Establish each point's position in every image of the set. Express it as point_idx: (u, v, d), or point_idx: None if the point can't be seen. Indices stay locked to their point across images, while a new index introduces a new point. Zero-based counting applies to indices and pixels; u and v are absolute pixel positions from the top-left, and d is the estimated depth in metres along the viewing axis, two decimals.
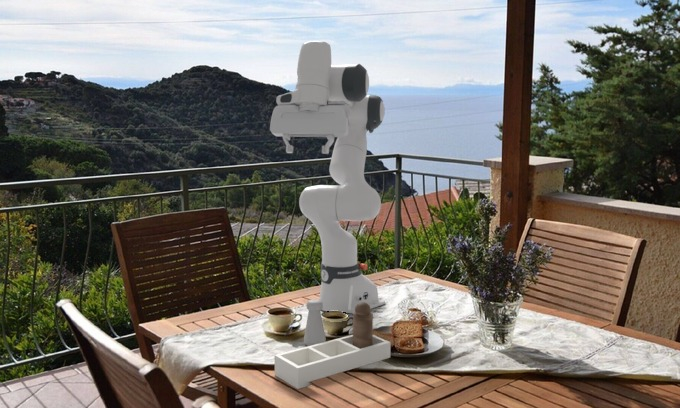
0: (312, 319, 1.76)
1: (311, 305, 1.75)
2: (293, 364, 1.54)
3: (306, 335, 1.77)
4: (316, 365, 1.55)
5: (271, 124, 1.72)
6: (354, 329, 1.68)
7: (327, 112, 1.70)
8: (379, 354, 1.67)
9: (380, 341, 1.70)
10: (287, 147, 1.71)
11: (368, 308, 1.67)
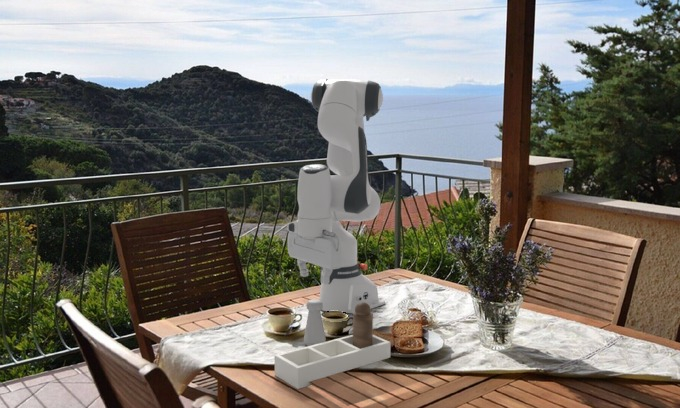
0: (312, 319, 1.76)
1: (311, 305, 1.75)
2: (293, 364, 1.54)
3: (306, 335, 1.77)
4: (316, 365, 1.55)
5: (288, 248, 1.81)
6: (354, 329, 1.68)
7: (319, 244, 1.69)
8: (379, 354, 1.67)
9: (380, 341, 1.70)
10: (300, 272, 1.79)
11: (368, 308, 1.67)
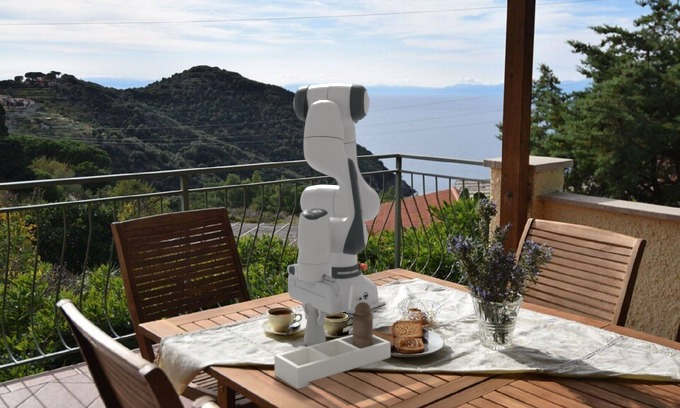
0: (312, 319, 1.76)
1: None
2: (293, 364, 1.54)
3: (306, 335, 1.77)
4: (316, 365, 1.55)
5: (288, 290, 1.83)
6: (354, 329, 1.68)
7: (319, 289, 1.71)
8: (379, 354, 1.67)
9: (380, 341, 1.70)
10: (305, 315, 1.79)
11: (368, 308, 1.67)
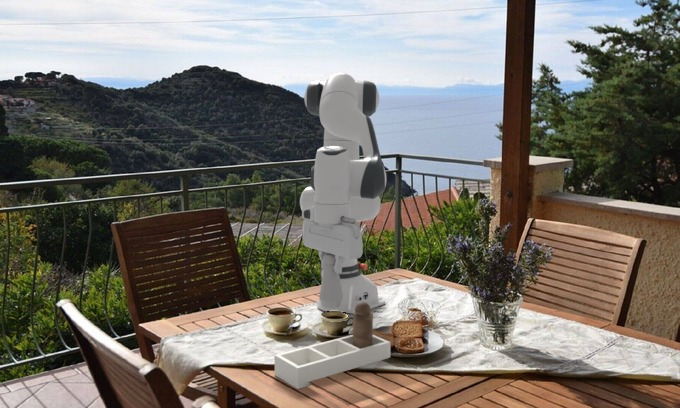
0: (328, 274, 1.61)
1: (328, 258, 1.60)
2: (293, 364, 1.54)
3: (322, 291, 1.61)
4: (316, 365, 1.55)
5: None
6: (354, 328, 1.68)
7: (337, 232, 1.56)
8: (379, 354, 1.67)
9: (380, 341, 1.70)
10: (322, 264, 1.64)
11: (368, 308, 1.67)
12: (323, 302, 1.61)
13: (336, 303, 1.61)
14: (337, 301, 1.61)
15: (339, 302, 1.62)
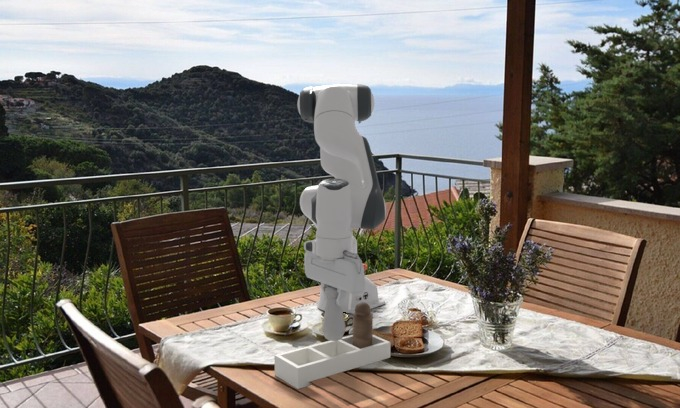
0: (331, 307, 1.61)
1: (331, 291, 1.60)
2: (293, 364, 1.54)
3: (325, 324, 1.62)
4: (316, 365, 1.55)
5: (305, 269, 1.68)
6: (354, 329, 1.68)
7: (340, 266, 1.56)
8: (379, 354, 1.67)
9: (380, 341, 1.70)
10: (324, 296, 1.64)
11: (368, 308, 1.67)
12: (326, 335, 1.62)
13: (339, 336, 1.62)
14: (340, 334, 1.61)
15: (342, 334, 1.62)
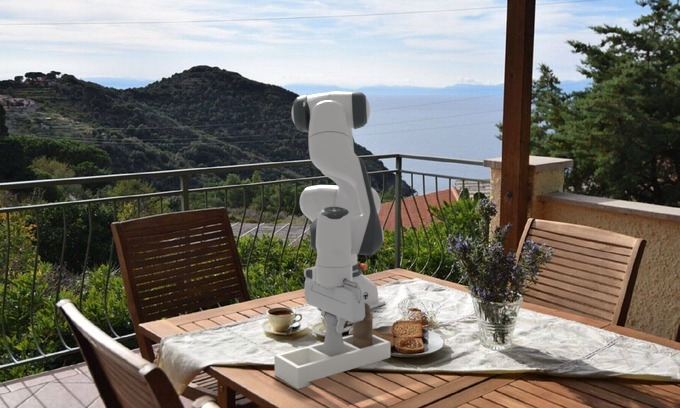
0: (331, 333, 1.62)
1: (331, 318, 1.61)
2: (293, 364, 1.54)
3: (325, 351, 1.63)
4: (316, 365, 1.55)
5: (305, 295, 1.69)
6: (354, 329, 1.68)
7: (340, 295, 1.57)
8: (379, 354, 1.67)
9: (380, 341, 1.70)
10: (325, 323, 1.65)
11: (368, 308, 1.67)
12: None
13: None
14: None
15: None
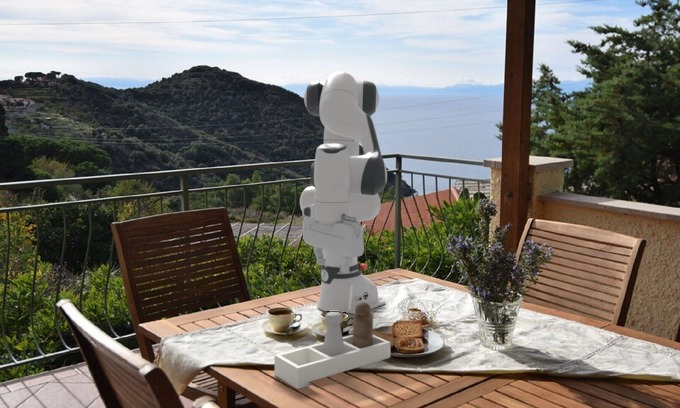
0: (331, 333, 1.62)
1: (331, 318, 1.61)
2: (293, 364, 1.54)
3: (325, 351, 1.63)
4: (316, 365, 1.55)
5: (303, 235, 1.67)
6: (355, 329, 1.68)
7: (338, 230, 1.56)
8: (379, 354, 1.67)
9: (380, 341, 1.70)
10: (317, 260, 1.66)
11: (368, 308, 1.67)
12: None
13: None
14: None
15: None
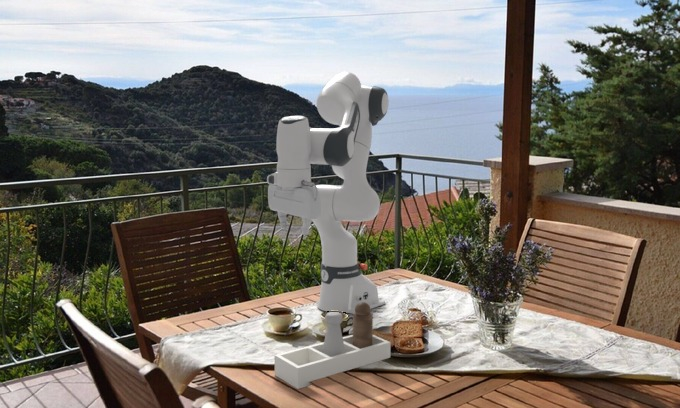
0: (331, 333, 1.62)
1: (331, 318, 1.61)
2: (293, 364, 1.54)
3: (325, 351, 1.63)
4: (316, 365, 1.55)
5: (268, 202, 1.81)
6: (354, 329, 1.68)
7: (298, 195, 1.70)
8: (379, 354, 1.67)
9: (380, 341, 1.70)
10: (281, 224, 1.79)
11: (368, 308, 1.67)
12: None
13: None
14: None
15: None
